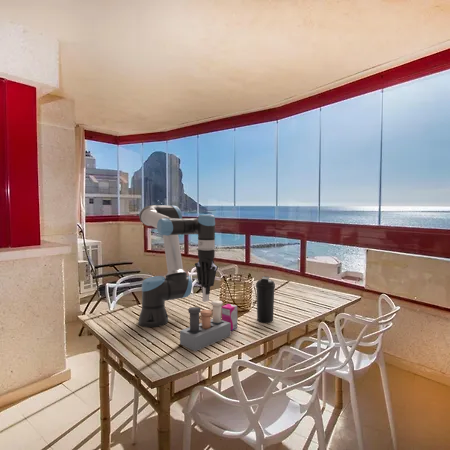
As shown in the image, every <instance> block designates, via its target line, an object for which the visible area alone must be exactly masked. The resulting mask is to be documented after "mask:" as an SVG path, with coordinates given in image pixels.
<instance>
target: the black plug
mask: <svg viewBox="0 0 450 450" xmlns="http://www.w3.org/2000/svg"><path fill="white" fill-rule="evenodd" d="M201 311H202V310H201V307H198V306H193V307H189V308H188V312H187V313H189V327H190V331H192V332H197V331H199V324H200V312H201Z"/></svg>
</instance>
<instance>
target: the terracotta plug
mask: <svg viewBox="0 0 450 450" xmlns="http://www.w3.org/2000/svg"><path fill="white" fill-rule="evenodd" d="M199 316H201V323H202V328H203V329H205V330H206V329H209V328H211V319H212V318H211V317H212V316H213V310H210V309H202V310H201V312H200V313H199Z"/></svg>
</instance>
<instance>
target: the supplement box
mask: <svg viewBox="0 0 450 450" xmlns="http://www.w3.org/2000/svg"><path fill="white" fill-rule="evenodd" d="M221 320H224V321H226V322H229V323H231V332H234V330H235V331H236V330H237V329H238V305H235V304H231V303H226V304H224V305H222V306H221Z"/></svg>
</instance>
